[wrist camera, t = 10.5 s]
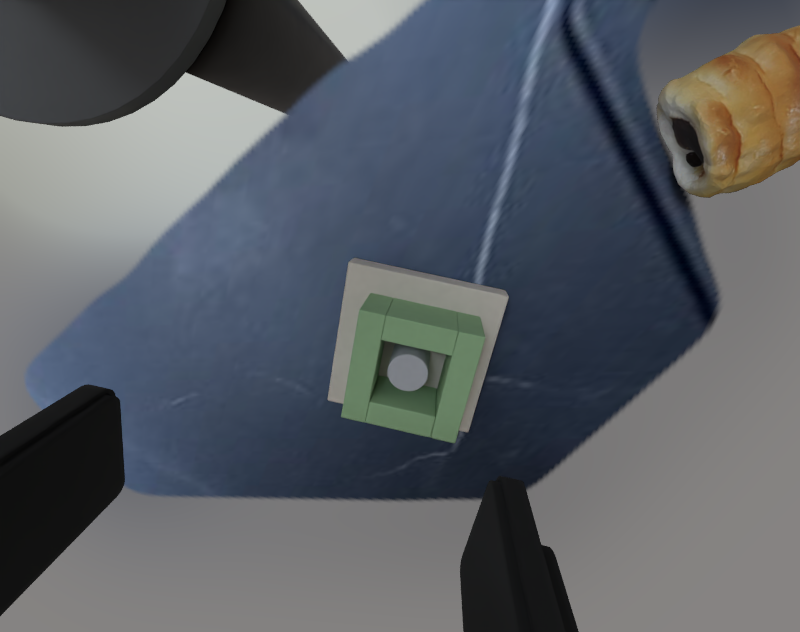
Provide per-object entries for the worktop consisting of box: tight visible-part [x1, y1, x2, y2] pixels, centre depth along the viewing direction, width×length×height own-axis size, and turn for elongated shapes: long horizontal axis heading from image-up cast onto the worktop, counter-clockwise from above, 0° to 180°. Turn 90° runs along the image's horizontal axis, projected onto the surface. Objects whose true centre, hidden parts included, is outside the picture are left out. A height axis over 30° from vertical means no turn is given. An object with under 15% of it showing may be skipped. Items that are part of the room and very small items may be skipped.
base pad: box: [328, 258, 509, 432], centre depth 25 cm, size 10×10×4 cm
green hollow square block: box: [341, 293, 485, 443], centre depth 24 cm, size 7×7×4 cm
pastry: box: [657, 25, 800, 198], centre depth 19 cm, size 9×7×4 cm
